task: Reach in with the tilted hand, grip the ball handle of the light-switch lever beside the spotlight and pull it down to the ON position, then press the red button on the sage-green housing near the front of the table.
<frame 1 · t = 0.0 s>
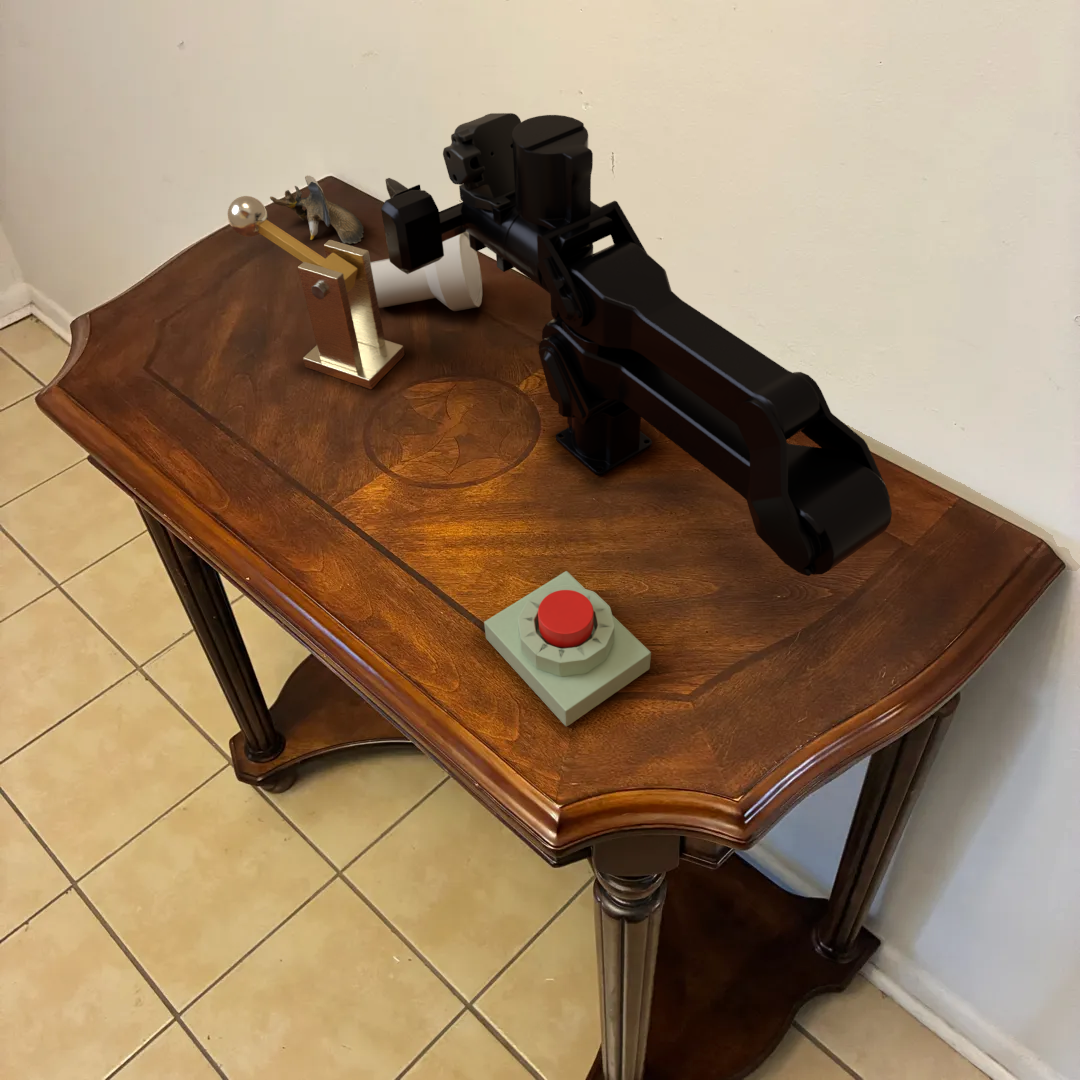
hand: (430, 166, 91), 17 cm above the table, tool horizontal, fingers open, 9 cm apart
spotlight: (434, 305, 105), on the table
button box: (566, 653, 75), on the table
switch lever: (290, 244, 92), point 12 cm above the table, hinge at 22.0°
switch bracket: (355, 361, 99), on the table
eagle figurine: (326, 233, 115), on the table
red button: (565, 618, 72), point 4 cm above the table, slide at 0.1 cm
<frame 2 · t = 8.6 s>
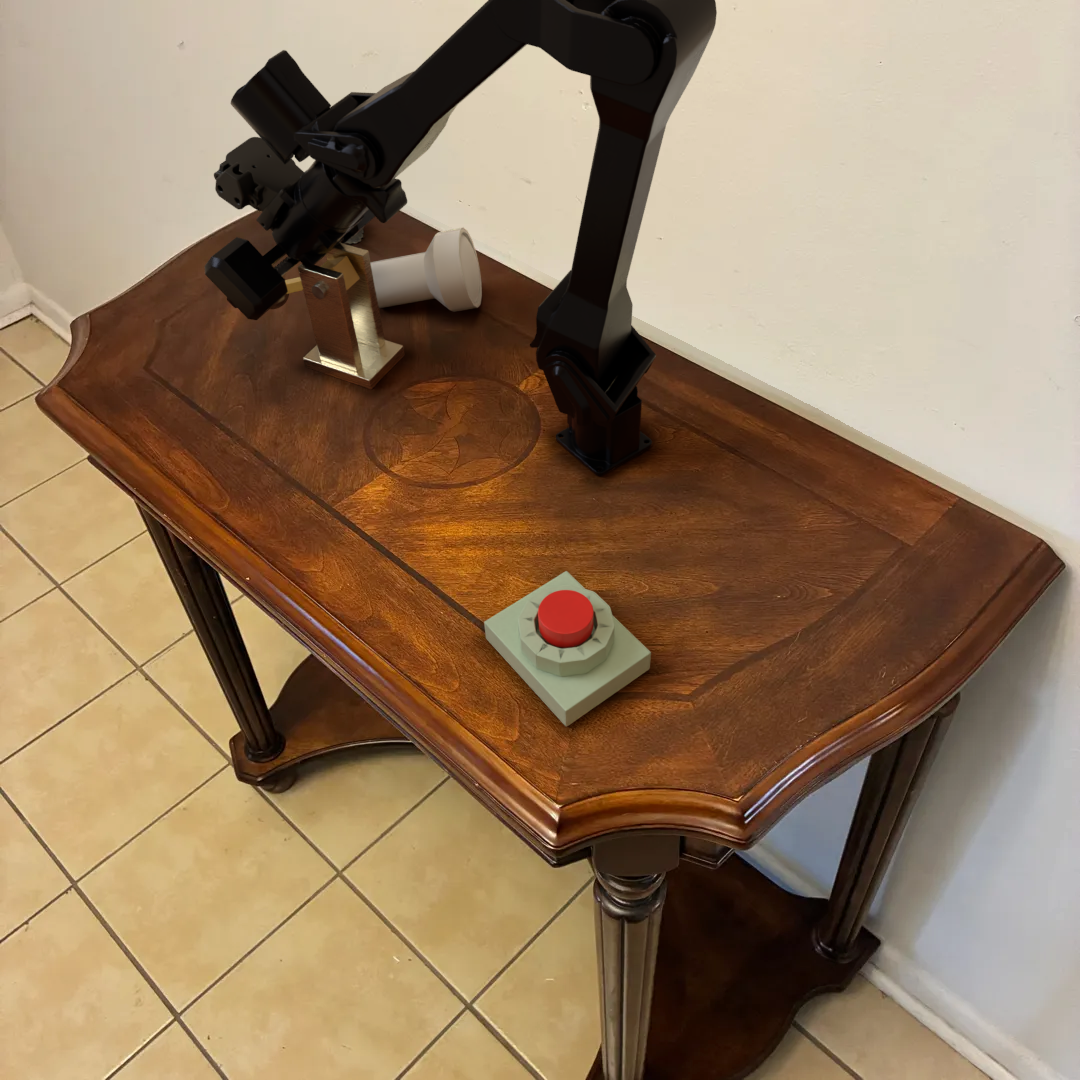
hand: (262, 277, 97), 7 cm above the table, tool tilted 45°, fingers open, 9 cm apart
switch lever: (301, 283, 95), point 8 cm above the table, hinge at -25.6°
everything else where it was.
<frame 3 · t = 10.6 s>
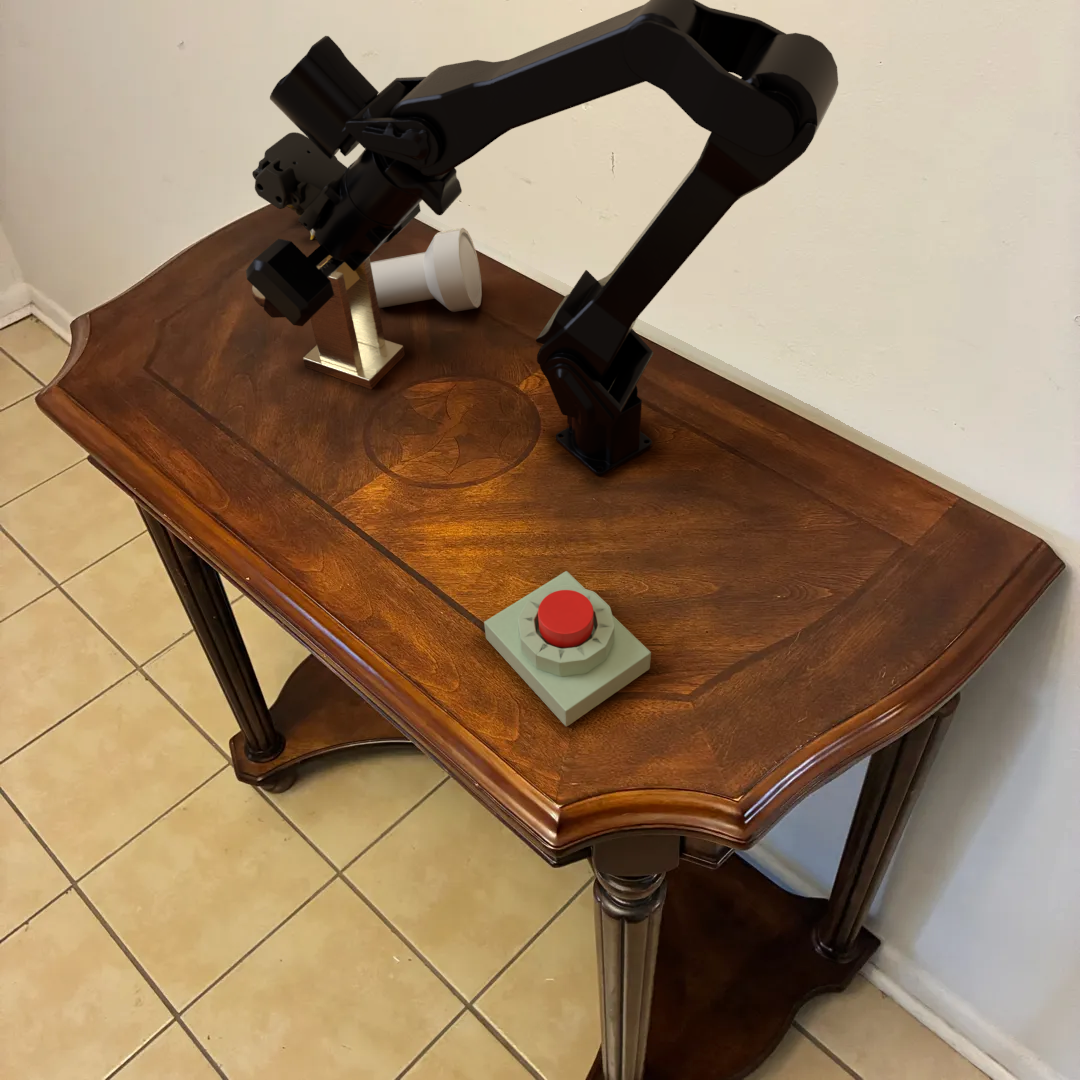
hand: (300, 283, 92), 9 cm above the table, tool tilted 45°, fingers open, 9 cm apart
nothing on the table moved.
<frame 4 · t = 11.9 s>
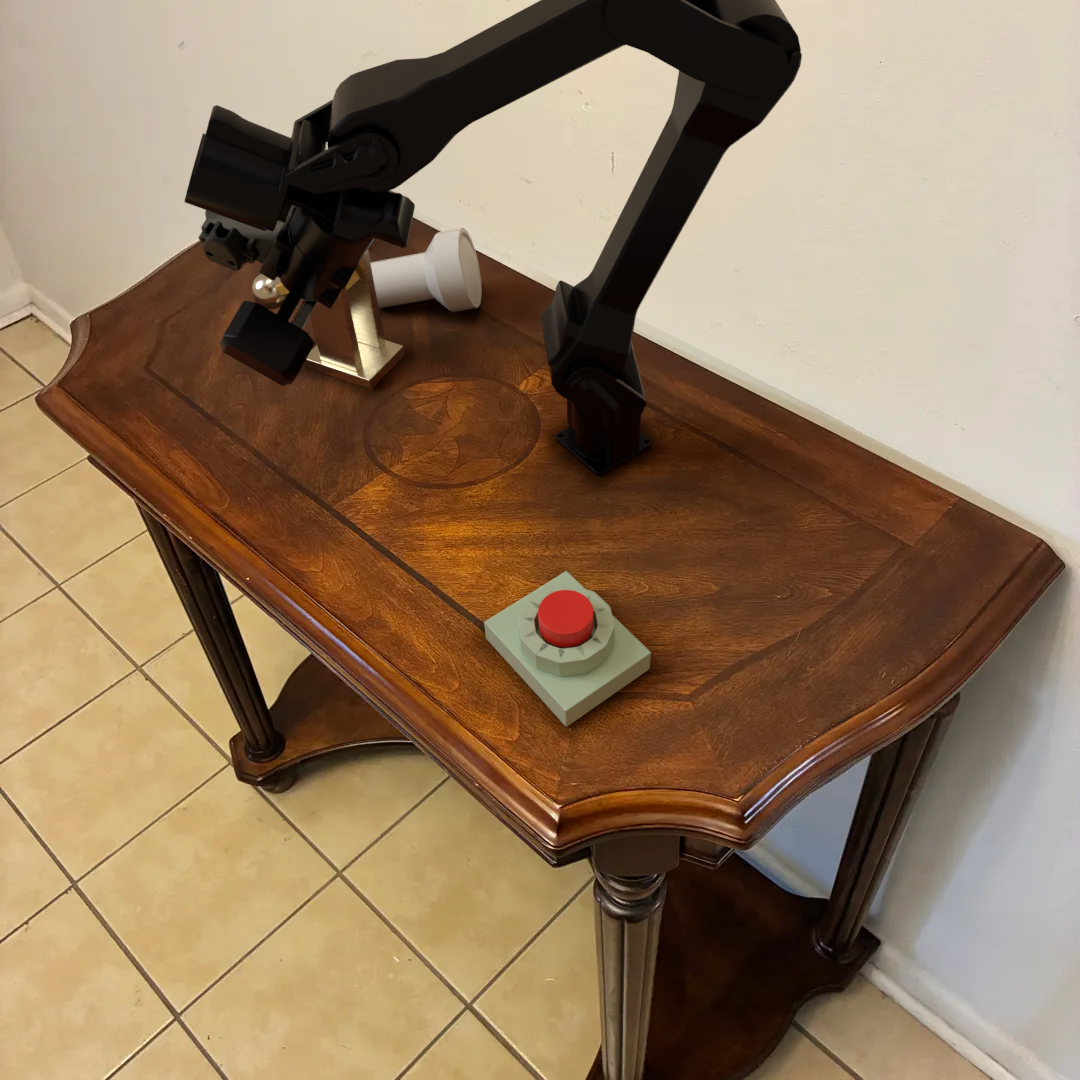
hand: (287, 309, 87), 11 cm above the table, tool tilted 40°, fingers open, 9 cm apart
nothing on the table moved.
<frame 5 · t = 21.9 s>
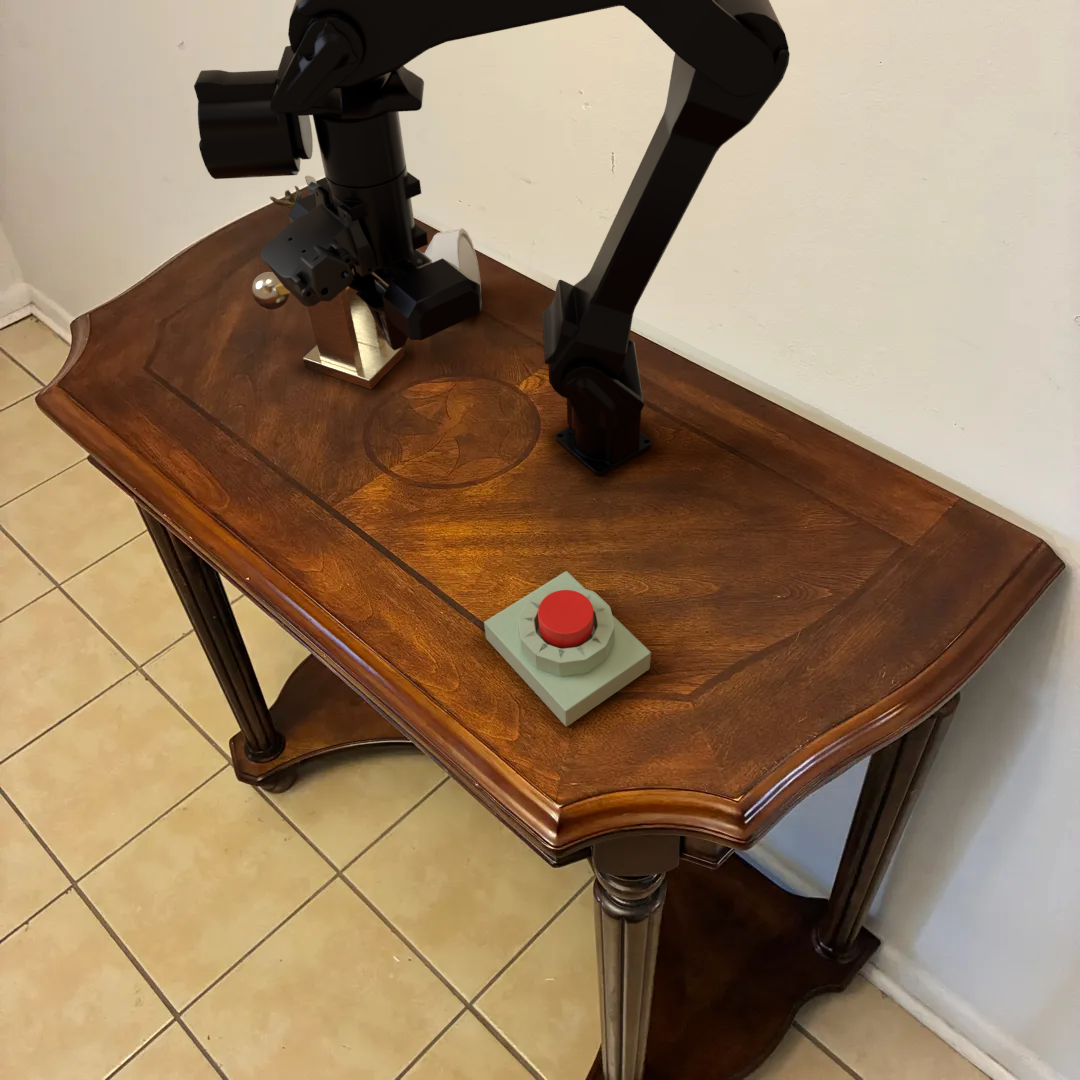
hand: (396, 346, 81), 12 cm above the table, tool pointing down, fingers closed
nothing on the table moved.
at the end: switch lever at -26° (first picture: +22°); red button pushed in 1.1 cm at the most during the clip, back to where it started at the end; red button slide at 0.1 cm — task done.
